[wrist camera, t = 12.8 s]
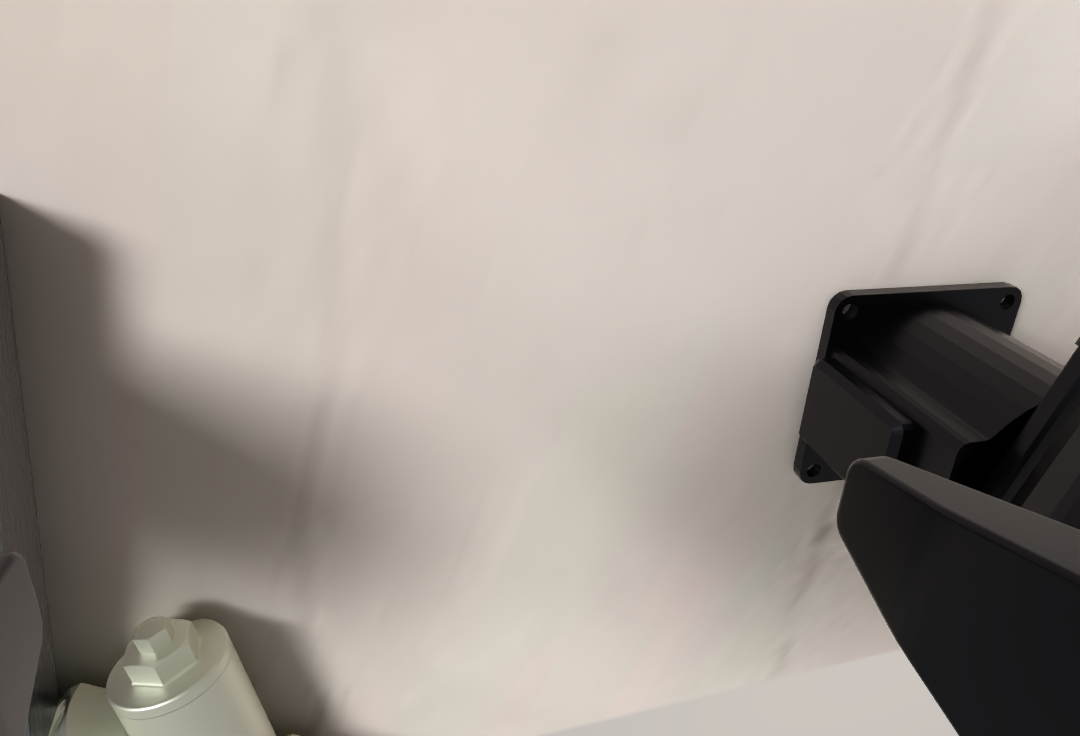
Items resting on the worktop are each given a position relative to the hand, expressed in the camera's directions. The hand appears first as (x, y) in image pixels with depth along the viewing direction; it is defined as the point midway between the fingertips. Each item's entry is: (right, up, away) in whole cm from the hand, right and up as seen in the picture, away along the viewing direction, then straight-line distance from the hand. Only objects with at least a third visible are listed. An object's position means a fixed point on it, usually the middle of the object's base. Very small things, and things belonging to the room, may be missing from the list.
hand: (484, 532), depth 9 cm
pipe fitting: (-10, -8, +17) cm, 21 cm away
